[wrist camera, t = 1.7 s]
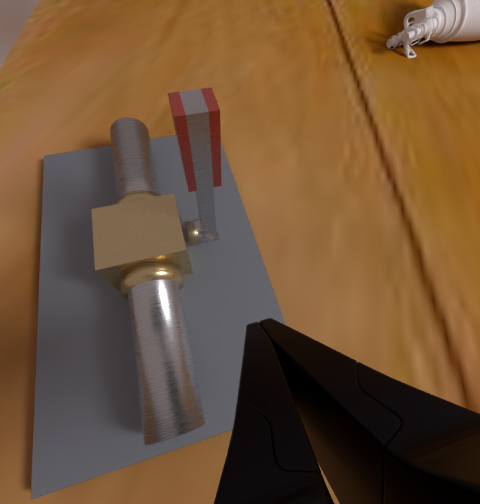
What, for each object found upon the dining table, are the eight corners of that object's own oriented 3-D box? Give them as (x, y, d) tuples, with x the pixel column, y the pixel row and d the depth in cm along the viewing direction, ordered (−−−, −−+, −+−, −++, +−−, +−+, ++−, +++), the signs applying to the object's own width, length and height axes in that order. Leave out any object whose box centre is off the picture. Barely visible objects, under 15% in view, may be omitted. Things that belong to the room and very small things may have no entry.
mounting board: (308, 400, 19) (312, 401, 19) (41, 493, 16) (30, 499, 16) (216, 136, 31) (216, 128, 30) (50, 163, 28) (44, 155, 27)
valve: (225, 412, 18) (224, 422, 14) (135, 443, 17) (105, 462, 13) (164, 146, 29) (154, 105, 25) (107, 155, 28) (86, 114, 24)
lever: (223, 243, 22) (221, 113, 12) (191, 250, 22) (158, 122, 11) (217, 223, 23) (210, 84, 12) (186, 230, 23) (151, 92, 12)
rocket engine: (425, -31, 31) (558, -95, 32) (363, 10, 42) (464, -39, 42) (432, 77, 37) (546, 21, 37) (375, 90, 47) (465, 46, 47)
